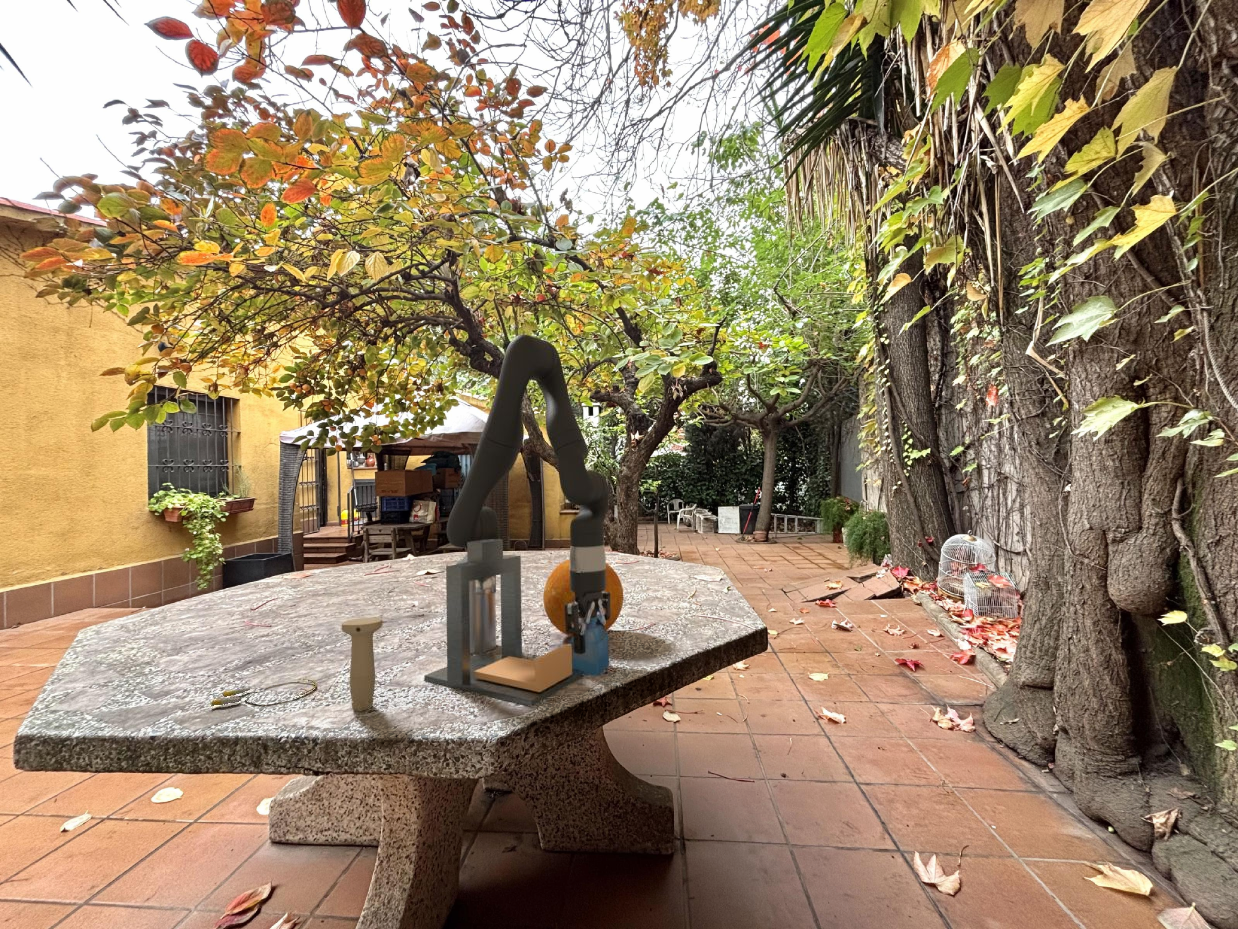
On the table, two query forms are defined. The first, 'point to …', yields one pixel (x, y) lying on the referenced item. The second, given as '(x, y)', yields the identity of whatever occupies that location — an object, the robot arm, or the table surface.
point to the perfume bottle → (592, 649)
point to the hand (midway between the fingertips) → (589, 647)
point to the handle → (362, 660)
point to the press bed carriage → (530, 670)
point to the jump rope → (236, 699)
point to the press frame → (483, 568)
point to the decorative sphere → (561, 594)
